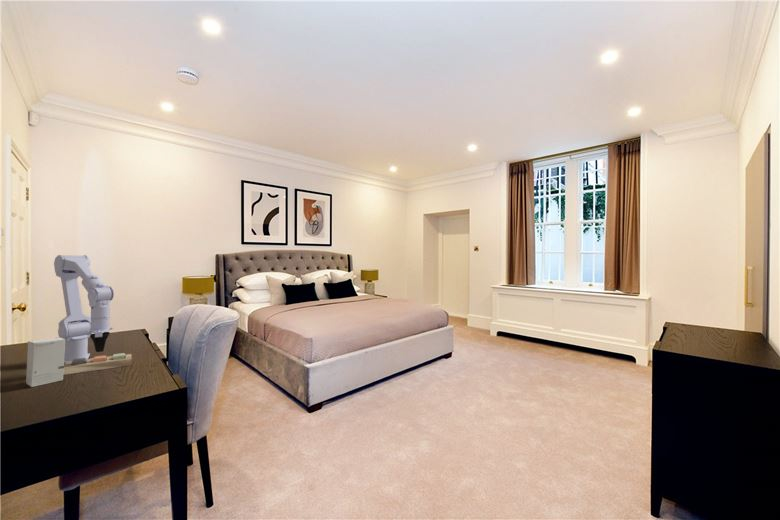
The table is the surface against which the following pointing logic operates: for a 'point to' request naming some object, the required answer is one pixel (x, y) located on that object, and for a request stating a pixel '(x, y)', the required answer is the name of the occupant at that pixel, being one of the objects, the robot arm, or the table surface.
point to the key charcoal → (79, 361)
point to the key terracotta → (99, 358)
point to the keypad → (96, 365)
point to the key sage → (119, 356)
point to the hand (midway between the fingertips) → (99, 351)
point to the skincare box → (45, 361)
